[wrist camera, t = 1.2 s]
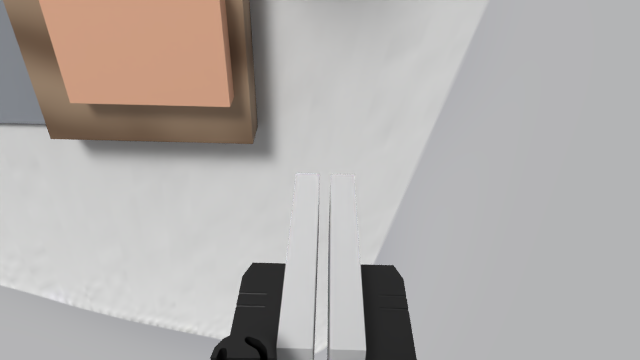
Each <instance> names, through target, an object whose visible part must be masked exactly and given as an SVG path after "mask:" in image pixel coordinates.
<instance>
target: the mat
mask: <svg viewBox="0 0 640 360" xmlns="http://www.w3.org/2000/svg"><path fill="white" fill-rule="evenodd" d="M0 123H26V124H46V123H45V120H44V117H43V115H42V112H41V109H40V106H39V103H38V100H37V97H36V94H35V91H34V89H33V86H32V83H31V80H30V77H29V74H28V71H27V68H26V66H25V63H24V60H23V57H22V54H21V51H20V48H19V45H18V42H17V40H16V37H15V34H14V31H13V28H12V25H11V22H10V19H9V17H8V14H7V11H6V8H5V5H4V2H3V0H0Z"/></svg>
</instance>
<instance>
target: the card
mask: <svg viewBox="0 0 640 360" xmlns="http://www.w3.org/2000/svg"><path fill="white" fill-rule="evenodd" d="M39 3H40V6H41V9H42V13H43V16H44V19H45V22H46V26H47V29H48V32H49V35H50V39H51V42H52V45H53V49H54V52H55V55H56V58H57V62H58V65H59V68H60V71H61V75H62V78H63V81H64V85H65V88H66V91H67V94H68V98H69V101H70V103H85V104H126V105H167V106H208V107H230V106H231V103H232V101H233V98H234V90H233V79H232V68H231V57H230V47H229V36H228V25H227V14H226V4H225V0H39Z"/></svg>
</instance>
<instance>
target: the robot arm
mask: <svg viewBox="0 0 640 360" xmlns="http://www.w3.org/2000/svg"><path fill="white" fill-rule="evenodd" d="M319 180H320V174H316V173H296V178H295V187H294V196H293V205H292V213H291V222H290V231H289V240H288V249H287V258H286V264H280V263H252V265H251V266H250V267H249V268H248V270H247V271H246V272H245V274H244V275H243V276H242V281H241V286H240V291H239V295H238V300H237V307H236V310H235V314H234V319H233V324H232V329H231V333H230V336H228V337H226V338H224V339H223V340H222V341H221V342H220V343H219V344H218V345H217V346H216V347H215V348H214V350H213V353H212V355H211V357H210V358H211V360H314V344H315V317H316V290H317V262H318V233H319ZM327 360H417V359H416V353H415V347H414V341H413V335H412V329H411V324H410V317H409V312H408V304H407V299H406V292H405V286H404V281H403V278H402V277H401V275H400V274H399V272H398V271H397V270H396V268H395V267H394V266H393V265H360V250H359V235H358V220H357V205H356V190H355V175H354V174H331V185H330V213H329V251H328V347H327Z"/></svg>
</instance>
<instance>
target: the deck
mask: <svg viewBox="0 0 640 360" xmlns="http://www.w3.org/2000/svg"><path fill="white" fill-rule="evenodd" d="M3 2H4V5H5V8H6V11H7V14H8V17H9V19H10V22H11V25H12V28H13V31H14V34H15V37H16V40H17V42H18V45H19V48H20V51H21V54H22V57H23V60H24V63H25V66H26V68H27V71H28V74H29V77H30V80H31V83H32V86H33V89H34V91H35V94H36V97H37V100H38V103H39V106H40V109H41V112H42V115H43V117H44V120H45V123H46V126H47V129H48V132H49V135H50V138H51V139H78V140H118V141H158V142H198V143H237V144H253V142H254V138H255V134H256V131H257V127H258V125H257V109H256V94H255V79H254V63H253V48H252V33H251V17H250V2H249V0H225V4H226V14H227V25H228V36H229V47H230V57H231V68H232V79H233V90H234V98H233V101H232V103H231V106H230V107H208V106H167V105H126V104H85V103H70V101H69V98H68V94H67V91H66V88H65V85H64V81H63V78H62V75H61V71H60V68H59V65H58V62H57V58H56V55H55V52H54V49H53V45H52V42H51V39H50V35H49V32H48V29H47V26H46V22H45V19H44V16H43V13H42V9H41V6H40V3H39V0H3Z"/></svg>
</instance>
